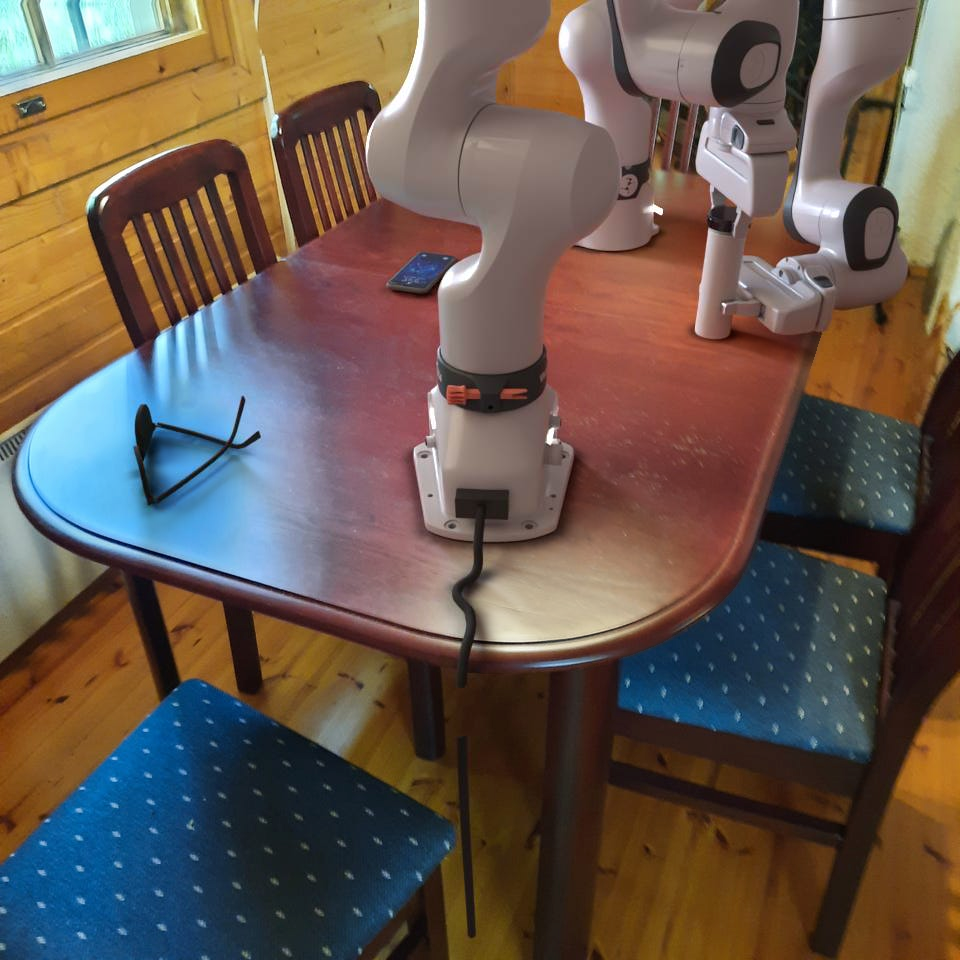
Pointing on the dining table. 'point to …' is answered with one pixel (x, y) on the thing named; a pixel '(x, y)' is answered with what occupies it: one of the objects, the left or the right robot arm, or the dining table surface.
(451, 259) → the smartphone
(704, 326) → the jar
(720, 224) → the lid
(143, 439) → the sunglasses
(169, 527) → the dining table surface
